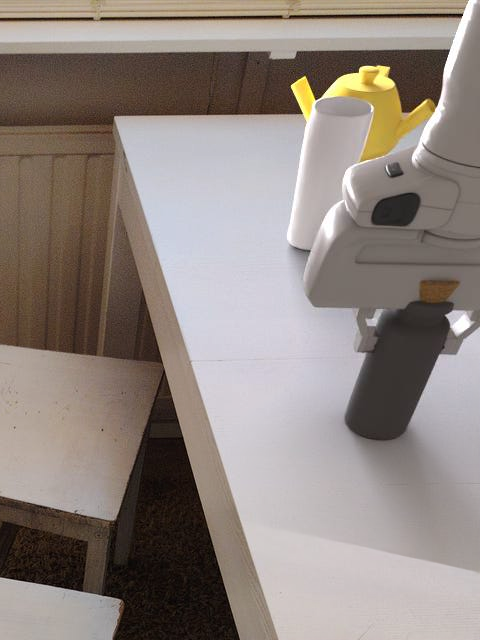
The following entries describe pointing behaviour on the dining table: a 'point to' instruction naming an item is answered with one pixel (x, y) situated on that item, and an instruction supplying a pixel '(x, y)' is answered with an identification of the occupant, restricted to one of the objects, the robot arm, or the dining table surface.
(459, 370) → the dining table surface
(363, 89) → the teapot
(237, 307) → the dining table surface
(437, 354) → the bottle
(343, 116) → the white vase
